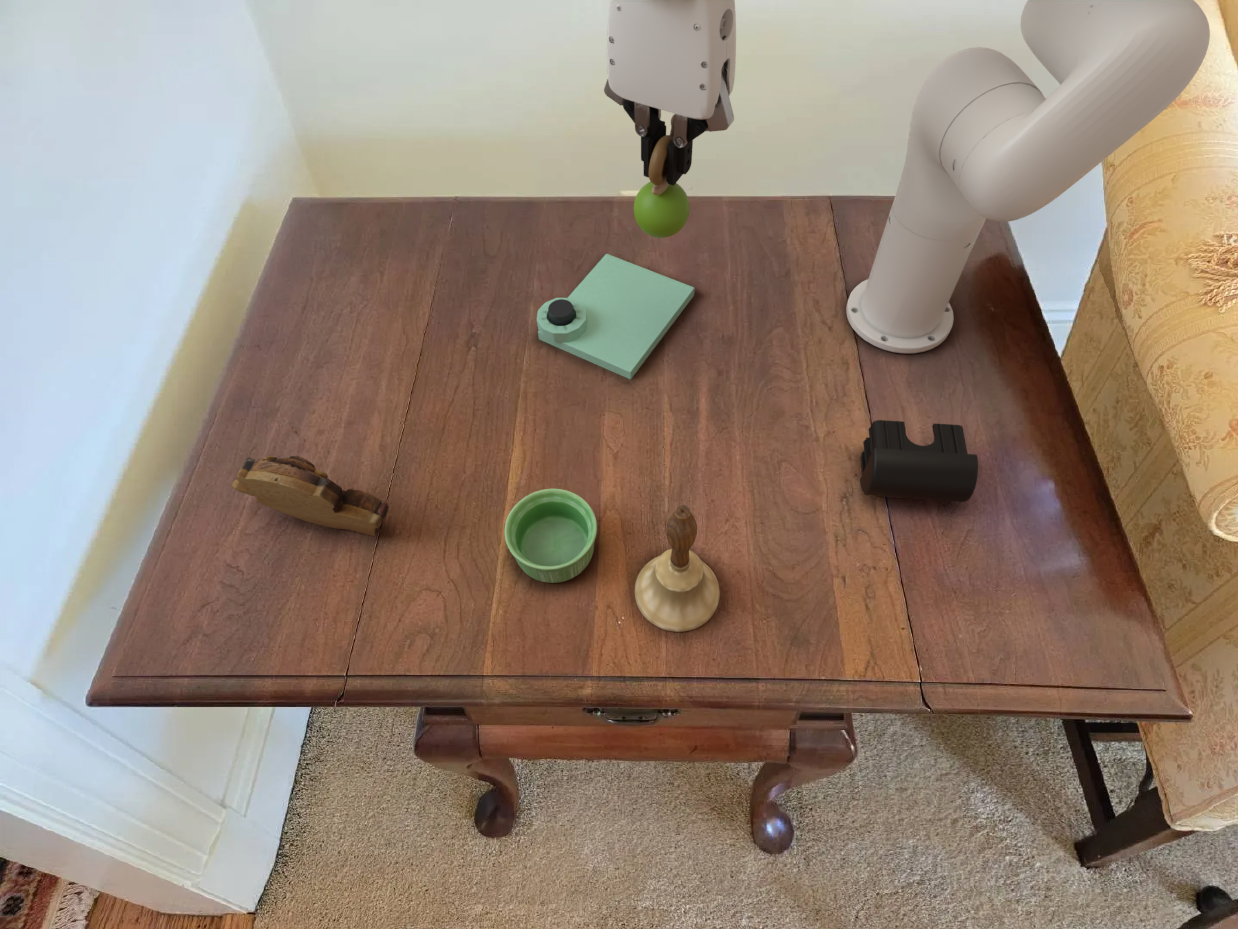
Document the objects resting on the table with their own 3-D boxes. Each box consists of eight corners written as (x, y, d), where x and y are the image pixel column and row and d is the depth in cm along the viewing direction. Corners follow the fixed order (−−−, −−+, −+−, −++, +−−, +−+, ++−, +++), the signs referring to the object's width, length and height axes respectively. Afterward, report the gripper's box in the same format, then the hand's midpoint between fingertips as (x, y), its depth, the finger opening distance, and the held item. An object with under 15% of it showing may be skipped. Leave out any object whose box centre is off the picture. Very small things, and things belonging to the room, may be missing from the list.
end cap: (860, 509, 80) (876, 473, 75) (855, 453, 84) (870, 415, 79) (959, 516, 80) (983, 481, 74) (949, 459, 84) (971, 421, 78)
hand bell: (713, 639, 73) (729, 563, 60) (627, 623, 74) (623, 545, 61) (724, 561, 77) (741, 474, 64) (643, 547, 78) (643, 459, 65)
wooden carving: (406, 511, 82) (379, 458, 73) (390, 549, 79) (361, 498, 71) (263, 486, 84) (221, 431, 75) (243, 522, 81) (198, 470, 73)
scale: (600, 259, 103) (599, 241, 100) (694, 295, 98) (695, 277, 96) (530, 339, 95) (527, 321, 92) (628, 382, 91) (628, 365, 88)
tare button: (558, 305, 94) (557, 295, 93) (579, 313, 93) (578, 304, 92) (544, 320, 93) (543, 311, 92) (565, 329, 92) (564, 320, 91)
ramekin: (515, 509, 81) (509, 487, 78) (601, 511, 81) (599, 488, 77) (505, 588, 76) (498, 568, 73) (596, 590, 76) (594, 570, 72)
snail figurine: (698, 215, 79) (710, 105, 69) (675, 255, 76) (685, 146, 65) (648, 201, 80) (653, 91, 70) (624, 240, 77) (625, 130, 67)
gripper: (791, -45, 57) (759, 174, 72) (604, -85, 61) (612, 129, 76) (749, 1, 53) (725, 221, 68) (554, -45, 58) (572, 171, 73)
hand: (665, 171), depth 72 cm, fingers closed on snail figurine
